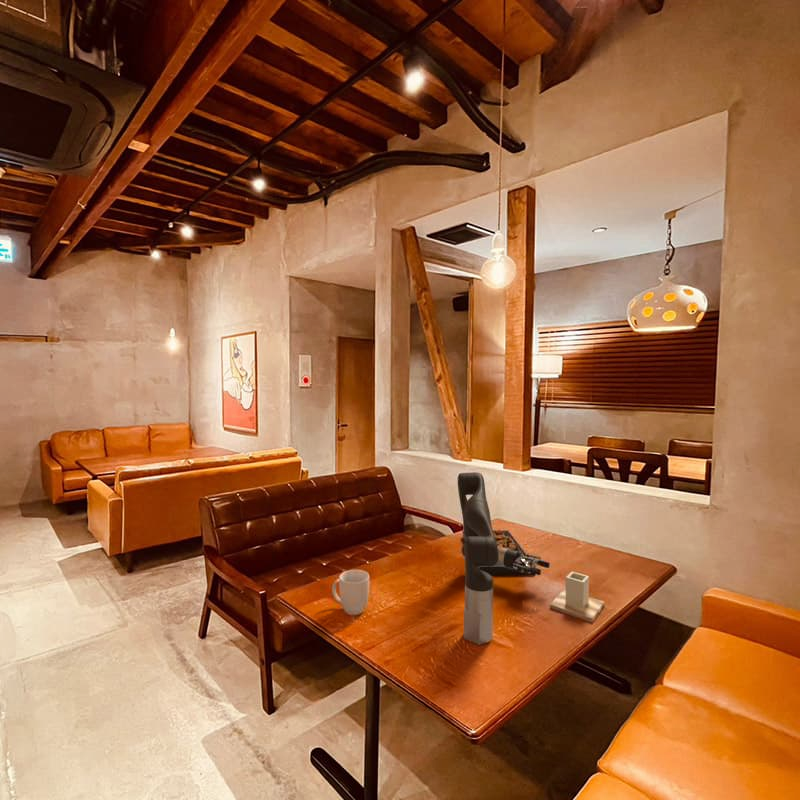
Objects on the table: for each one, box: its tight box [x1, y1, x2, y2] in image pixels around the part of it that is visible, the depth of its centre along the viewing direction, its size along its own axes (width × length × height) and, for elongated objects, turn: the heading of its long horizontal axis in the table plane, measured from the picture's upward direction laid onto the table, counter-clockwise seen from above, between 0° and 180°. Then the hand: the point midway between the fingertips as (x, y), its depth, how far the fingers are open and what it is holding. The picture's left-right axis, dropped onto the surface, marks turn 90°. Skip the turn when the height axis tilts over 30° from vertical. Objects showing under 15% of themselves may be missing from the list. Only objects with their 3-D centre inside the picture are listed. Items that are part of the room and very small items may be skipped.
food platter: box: [462, 528, 537, 576], centre depth 211 cm, size 45×25×10 cm, turn 1°
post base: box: [549, 588, 605, 623], centre depth 162 cm, size 15×15×8 cm
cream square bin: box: [565, 571, 590, 609], centre depth 162 cm, size 6×6×10 cm
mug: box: [331, 569, 370, 616], centre depth 160 cm, size 15×11×13 cm
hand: (545, 568), depth 170 cm, fingers open, 8 cm apart
